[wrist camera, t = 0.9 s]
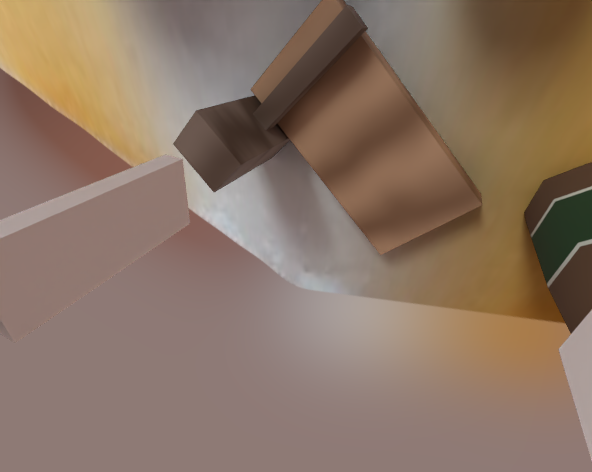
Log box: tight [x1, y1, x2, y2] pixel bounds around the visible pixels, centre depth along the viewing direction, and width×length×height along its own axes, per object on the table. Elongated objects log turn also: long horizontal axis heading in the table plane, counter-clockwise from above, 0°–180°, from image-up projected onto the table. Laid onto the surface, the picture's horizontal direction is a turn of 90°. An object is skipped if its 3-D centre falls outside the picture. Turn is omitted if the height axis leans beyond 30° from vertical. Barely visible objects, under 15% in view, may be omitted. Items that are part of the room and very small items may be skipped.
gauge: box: [173, 5, 368, 192], centre depth 26 cm, size 5×16×10 cm, turn 133°
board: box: [251, 0, 482, 255], centre depth 29 cm, size 20×10×2 cm, turn 43°
